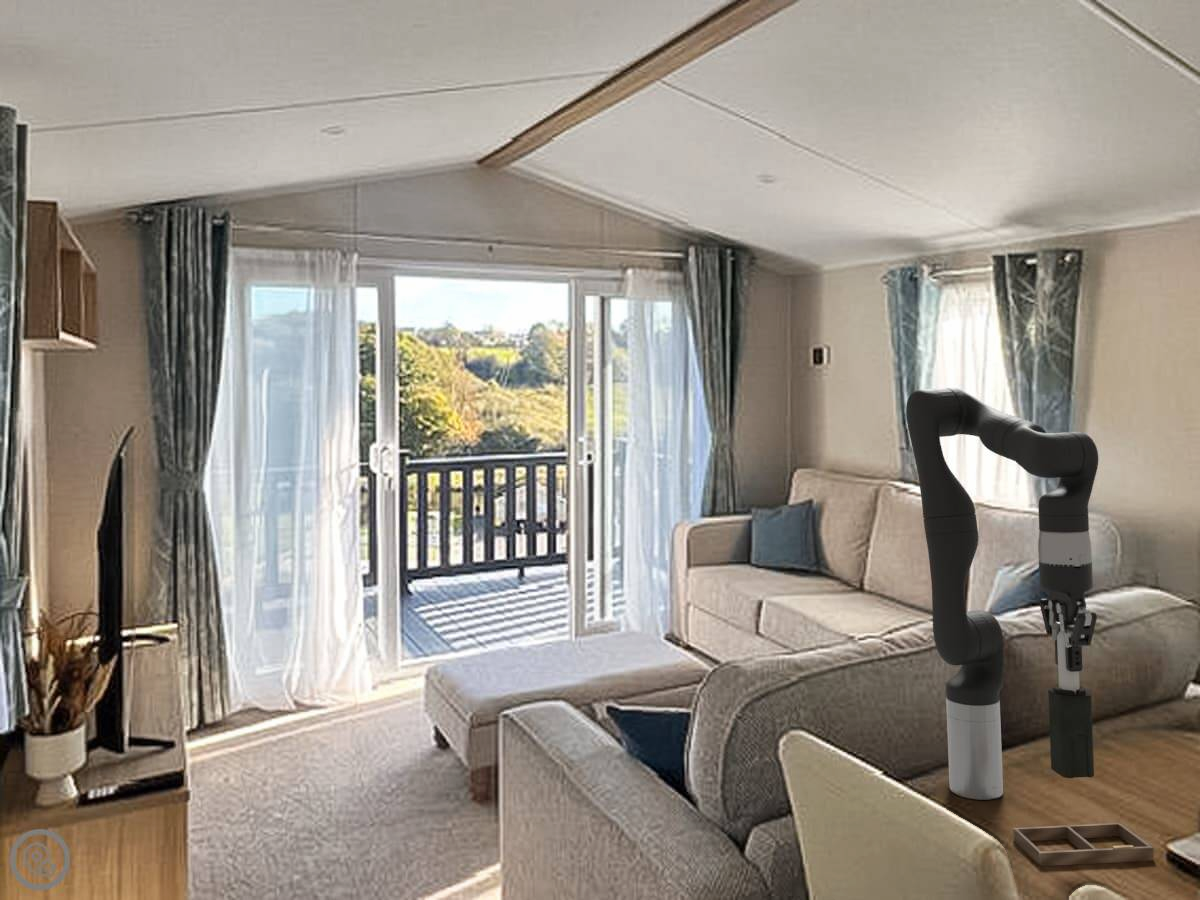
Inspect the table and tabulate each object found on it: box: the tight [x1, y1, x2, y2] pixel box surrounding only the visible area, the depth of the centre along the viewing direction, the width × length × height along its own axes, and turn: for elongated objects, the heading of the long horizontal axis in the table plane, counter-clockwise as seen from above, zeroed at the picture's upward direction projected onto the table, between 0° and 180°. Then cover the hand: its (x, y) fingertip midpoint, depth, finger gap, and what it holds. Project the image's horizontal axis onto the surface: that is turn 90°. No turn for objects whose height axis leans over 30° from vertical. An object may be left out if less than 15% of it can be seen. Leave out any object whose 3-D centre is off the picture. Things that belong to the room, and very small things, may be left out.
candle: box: [1047, 625, 1095, 779], centre depth 145 cm, size 5×5×25 cm
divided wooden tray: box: [1012, 822, 1155, 867], centre depth 146 cm, size 18×9×2 cm, turn 91°
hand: (1068, 667), depth 145 cm, fingers closed on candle, 2 cm apart
